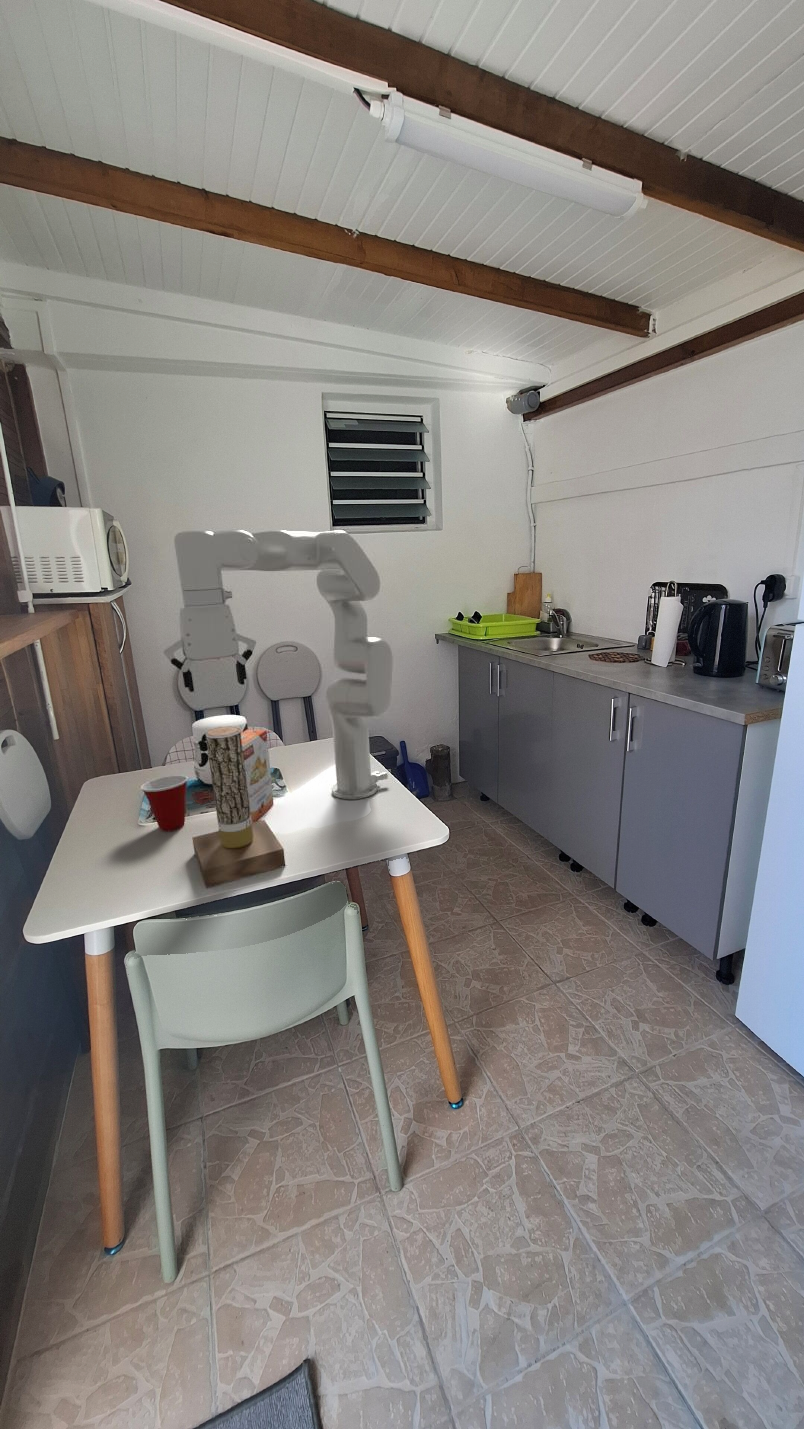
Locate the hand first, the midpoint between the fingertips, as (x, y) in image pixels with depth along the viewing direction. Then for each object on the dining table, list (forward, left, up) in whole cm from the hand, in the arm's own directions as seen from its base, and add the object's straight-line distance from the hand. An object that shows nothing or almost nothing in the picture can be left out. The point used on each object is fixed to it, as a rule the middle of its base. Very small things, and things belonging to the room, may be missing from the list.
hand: (216, 687), depth 110 cm
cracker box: (-8, -21, -38) cm, 44 cm away
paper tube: (0, 0, -34) cm, 34 cm away
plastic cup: (+11, -26, -38) cm, 48 cm away
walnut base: (0, 0, -38) cm, 38 cm away
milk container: (-7, -51, -38) cm, 64 cm away
